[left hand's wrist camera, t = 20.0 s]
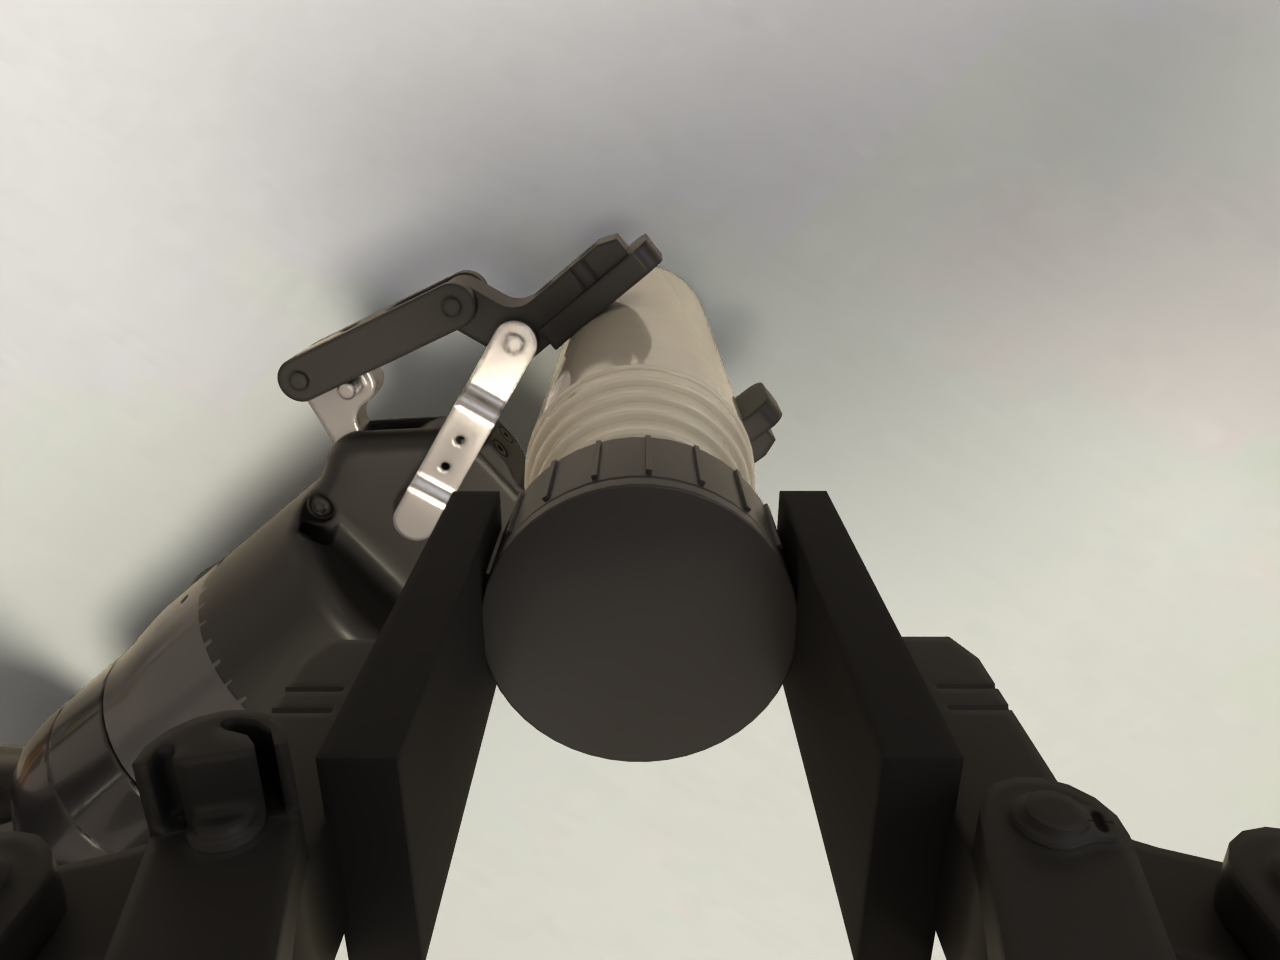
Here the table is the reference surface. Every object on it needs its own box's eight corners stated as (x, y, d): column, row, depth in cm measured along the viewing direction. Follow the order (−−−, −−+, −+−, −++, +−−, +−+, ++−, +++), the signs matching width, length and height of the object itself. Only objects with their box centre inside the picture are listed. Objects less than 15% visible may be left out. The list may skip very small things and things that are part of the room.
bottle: (689, 249, 31) (764, 424, 12) (719, 380, 32) (823, 705, 14) (556, 284, 31) (437, 502, 13) (592, 411, 33) (532, 765, 14)
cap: (836, 510, 14) (866, 569, 12) (698, 726, 16) (706, 808, 14) (572, 382, 14) (561, 424, 12) (454, 622, 15) (426, 694, 13)
